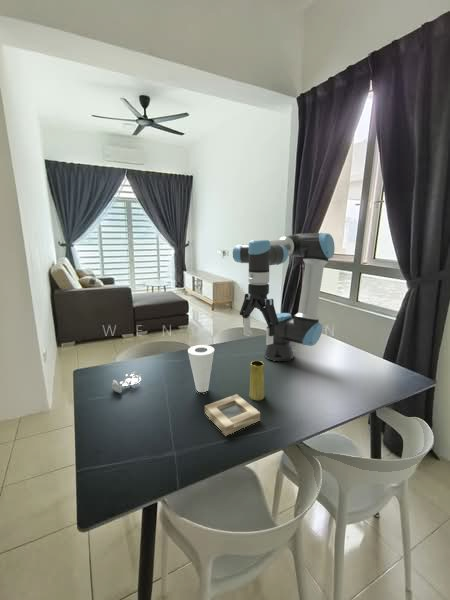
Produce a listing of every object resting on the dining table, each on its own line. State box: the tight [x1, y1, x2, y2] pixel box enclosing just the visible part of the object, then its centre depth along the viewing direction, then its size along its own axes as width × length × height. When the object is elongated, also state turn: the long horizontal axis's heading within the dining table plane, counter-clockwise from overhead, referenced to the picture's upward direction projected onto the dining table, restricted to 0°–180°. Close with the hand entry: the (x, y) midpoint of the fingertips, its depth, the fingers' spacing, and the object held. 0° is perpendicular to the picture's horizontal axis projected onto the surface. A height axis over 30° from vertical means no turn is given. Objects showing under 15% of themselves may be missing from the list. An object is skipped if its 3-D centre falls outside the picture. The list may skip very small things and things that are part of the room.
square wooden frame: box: [204, 393, 261, 437], centre depth 100 cm, size 14×14×4 cm
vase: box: [248, 360, 265, 401], centre depth 112 cm, size 6×6×14 cm
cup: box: [187, 344, 215, 393], centre depth 116 cm, size 11×11×18 cm
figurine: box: [111, 370, 142, 393], centre depth 120 cm, size 9×6×12 cm
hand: (257, 338), depth 108 cm, fingers open, 13 cm apart
